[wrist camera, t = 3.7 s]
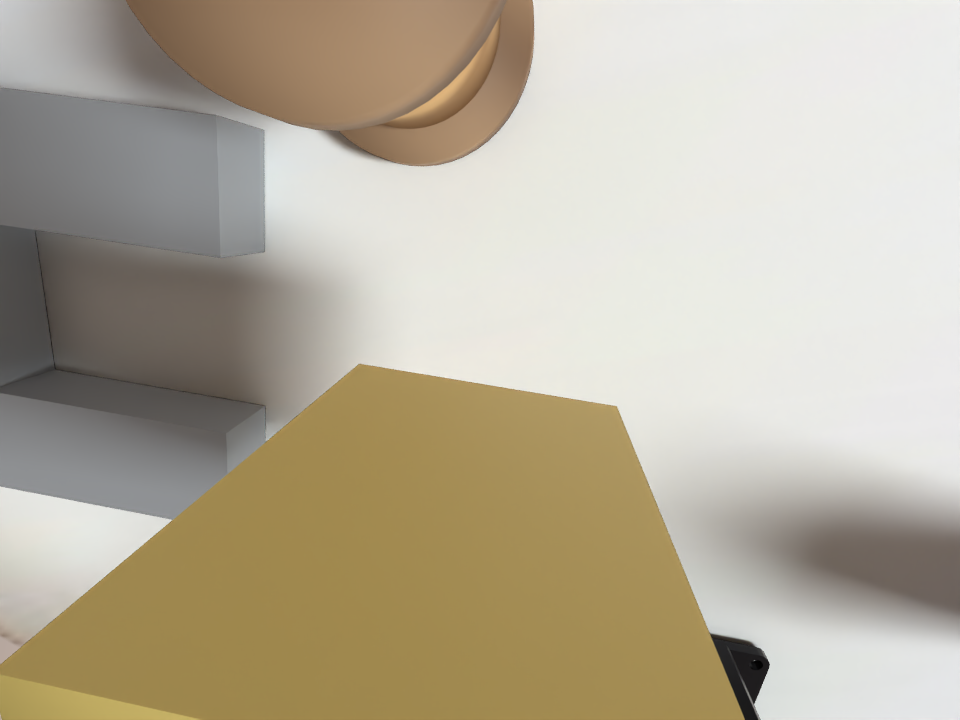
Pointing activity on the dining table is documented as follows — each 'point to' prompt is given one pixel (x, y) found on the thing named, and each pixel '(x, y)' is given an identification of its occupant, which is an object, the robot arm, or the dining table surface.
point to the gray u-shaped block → (131, 220)
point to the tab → (397, 578)
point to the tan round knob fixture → (359, 65)
